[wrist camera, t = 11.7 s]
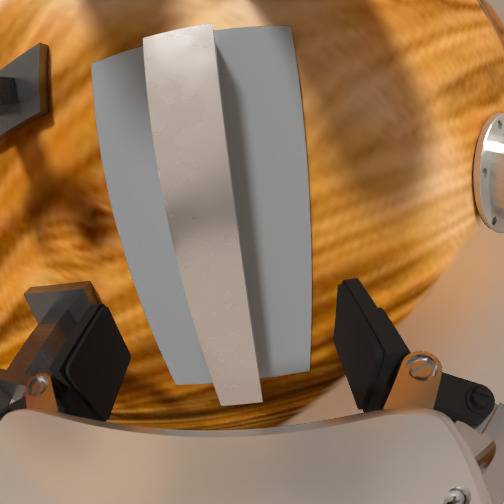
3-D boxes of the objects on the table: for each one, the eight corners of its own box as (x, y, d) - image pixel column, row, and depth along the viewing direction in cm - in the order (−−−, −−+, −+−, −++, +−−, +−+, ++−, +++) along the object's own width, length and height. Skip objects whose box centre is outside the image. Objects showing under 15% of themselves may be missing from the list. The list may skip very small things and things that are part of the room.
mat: (288, 29, 13) (290, 25, 12) (307, 364, 25) (309, 370, 24) (96, 65, 13) (91, 63, 12) (177, 378, 25) (176, 384, 24)
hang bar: (216, 43, 13) (211, 23, 10) (259, 372, 24) (262, 401, 20) (159, 54, 13) (142, 38, 10) (221, 375, 24) (221, 405, 20)
